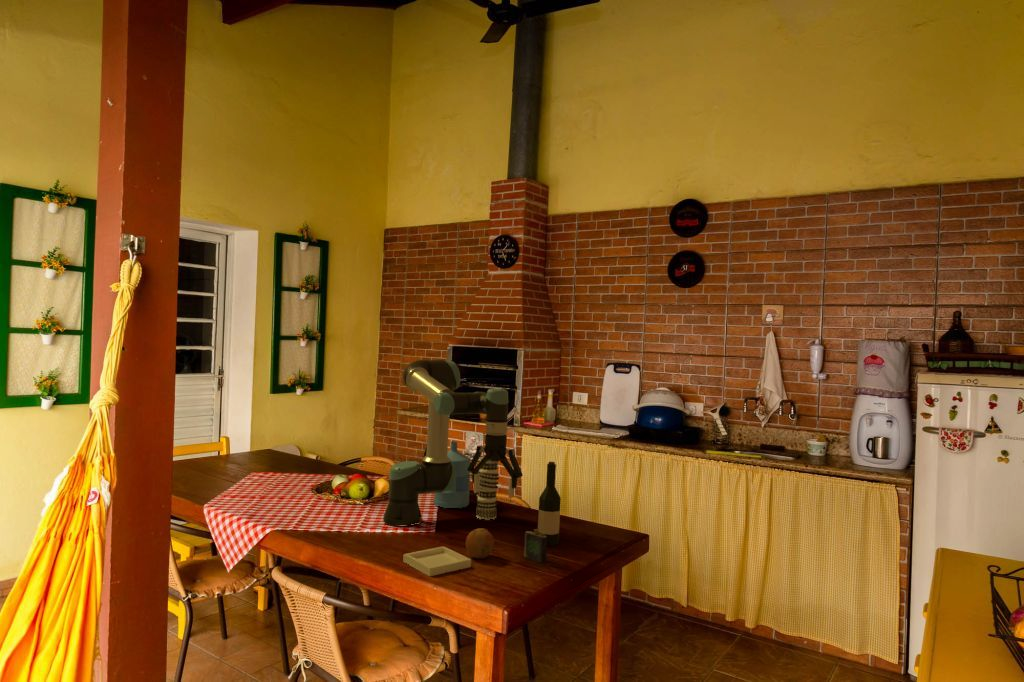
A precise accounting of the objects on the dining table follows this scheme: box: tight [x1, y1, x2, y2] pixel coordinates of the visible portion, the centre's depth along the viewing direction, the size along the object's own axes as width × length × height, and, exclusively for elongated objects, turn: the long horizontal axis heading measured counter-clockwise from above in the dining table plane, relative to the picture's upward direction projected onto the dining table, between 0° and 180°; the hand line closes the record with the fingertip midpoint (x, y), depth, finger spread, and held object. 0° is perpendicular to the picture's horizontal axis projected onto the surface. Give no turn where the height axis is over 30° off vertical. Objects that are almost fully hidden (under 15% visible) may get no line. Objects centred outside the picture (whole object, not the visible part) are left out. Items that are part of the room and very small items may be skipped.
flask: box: [523, 528, 547, 564], centre depth 236 cm, size 9×3×11 cm, turn 48°
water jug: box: [433, 440, 472, 509], centre depth 304 cm, size 16×16×28 cm
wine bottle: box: [537, 461, 562, 546], centre depth 255 cm, size 8×8×30 cm
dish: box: [402, 545, 472, 577], centre depth 226 cm, size 16×16×2 cm
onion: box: [465, 527, 495, 560], centre depth 235 cm, size 10×10×10 cm
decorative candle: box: [475, 456, 500, 521], centre depth 286 cm, size 9×9×25 cm
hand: (493, 494), depth 239 cm, fingers open, 13 cm apart
